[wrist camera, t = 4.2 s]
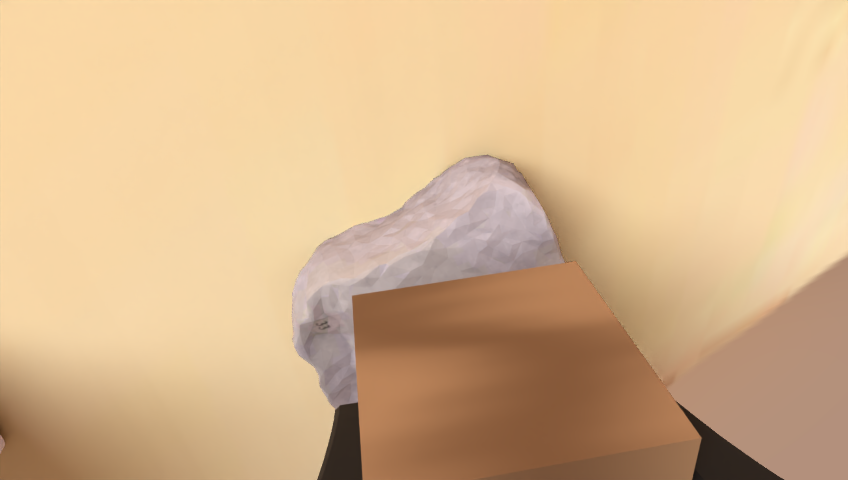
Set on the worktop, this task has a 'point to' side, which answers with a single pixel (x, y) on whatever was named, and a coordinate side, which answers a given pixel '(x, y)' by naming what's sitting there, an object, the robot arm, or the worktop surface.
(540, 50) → the worktop surface
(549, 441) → the walnut cube
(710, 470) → the robot arm
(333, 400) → the stone block
